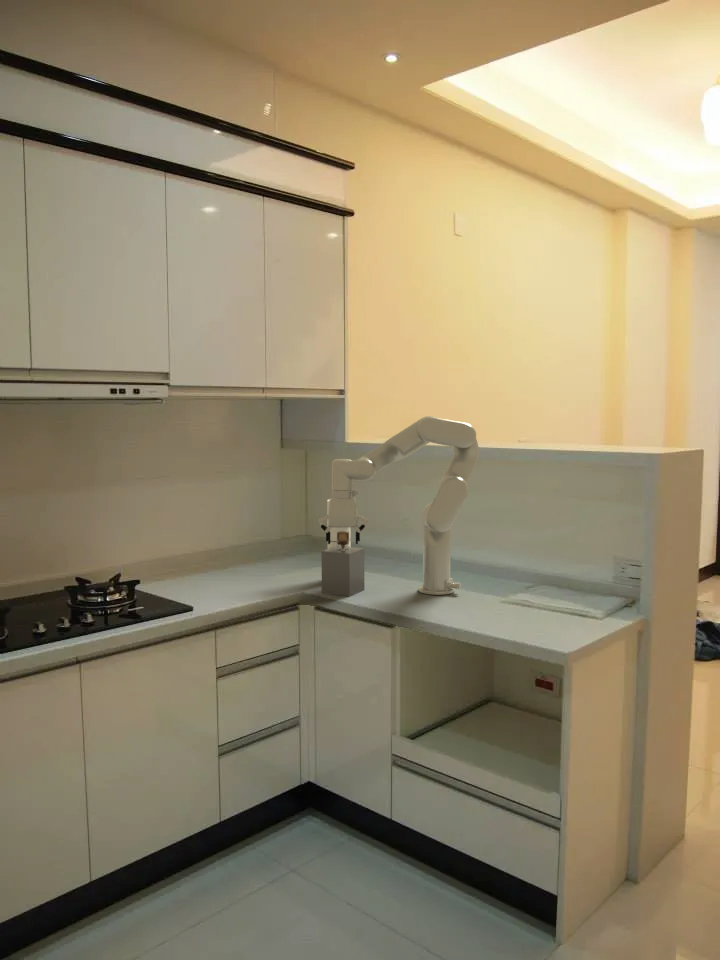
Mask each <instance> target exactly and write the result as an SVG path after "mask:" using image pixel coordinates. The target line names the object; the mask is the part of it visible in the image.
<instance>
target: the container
mask: <svg viewBox="0 0 720 960" xmlns="http://www.w3.org/2000/svg"><path fill="white" fill-rule="evenodd" d="M326 501H327V503H326V507H327V508H326V509H327V510H326V515H328V511H329V501H330V498H329V499H327V500H326ZM326 522H327V523H326V524H327V525H326V527H328V526H329V524H328V519H327V521H326ZM340 531H346V532H349V544H347V545H345V547H352V545H351V527H332V528H331V529H330V544H328V543H327V549H329V548H332V547H335V546H341V545H339V544H337V532H340Z"/></svg>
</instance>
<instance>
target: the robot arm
mask: <svg viewBox="0 0 720 960" xmlns="http://www.w3.org/2000/svg"><path fill="white" fill-rule="evenodd" d="M429 443H432V444H437V445H442V446H447V447H448V446H449V447H453V455H452V457H451V459H450V462H449V464H448V466H447V467H446V470H445V471H444V473H443V475H442V477H441V479H440V480H439V482H438V484H437V490H438V491H437V492H436V495H435V497H434V499H433V501H431V502H428V503H427V504H426V505H425V507H424V508H423V512H422V585H419V586H418V591H419V593H421V594H425V595H433V596H434V595H435V596H442V595H444V596H445V595H449V594H450V595H451V594H452V593H455V590H461V589H462V583H461V582H458V581H456V582H455V581H454V577H451V541H452V540H451V539H452V537H451V535H452V534H451V528H452V527H453V524H454V523H455V521H456V519H457V518H458V516H459V513H460V512H461V510H462V508H463V506H464V504H465V502H466V500H467V498H468V495H469V494H468V493H469V486H468V483H469V480H470V478H471V476H472V475H473V472H474V470H475V468H476V466H477V463H478V459H479V456H480V455H479V454H480V450H479V443H478V439H477V432H476V430H475V427H474V426H473V425H472V424H470V423H467V422H463V421H456V420H450V419H444V418H438V417H434V416H429V415H428V416H427V415H426V416H424V417H422V418H420V419H418V420H417V421H415V422H414V423H412V424H410V425H409V426H407V427H406V428H404V429H403V430H401V431H400V432H398V433H395V435H393V436H391V437H390V438H389V439H387V440H385V442H383V443H382V444H380V445H378V446H377V447H375V448H374V449H372V450H371V451H369V452H368V453H366V454H364V455H363V456H361V457H359V458H358V459H356V460H352V459H349V458H336V459H333V460H332V462H331V497H330V498H329V499H330V501H329V511H328V515H327V514H326V515H325V516H323V517H320V518H319V519H318V520H317V523H318V524H319V527H320V528H321V529H322V530H323V531H324V532H325V542H327V545H328V544H330V529H331V528H332V527H350V528H353V529H354V530H355V544H356V545H358V544H359V542H361V539H360V538H361V534H360V533H361V532H362V531H363V530H364V529H365V527H366V525H367V524H368V521H369V519H368V518H365V517H364V516H362V515H360V514H358V505H357V499H356V497H355V496H358V490H357V491H356V490H355V489H354V481H365V482H366V481H369V480H371V479H373V478H374V477H375V475H376V473H378V472H380V471H381V470H382V469H384V468H385V467H388V466H390V465H391V464H394V463H395V462H397V461H403V460H404V459H406V458H407V457H409V456H411V455H412V454H414V453H415V452H417V451H419V450H420V449H421V448H423V447H425V446H427V444H429ZM327 519H328V524H329V526H328V527H327V525H325V524H324V521H326V520H327ZM358 521H361V522H362V524H361V525H360V526H358Z"/></svg>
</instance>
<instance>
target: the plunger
mask: <svg viewBox="0 0 720 960" xmlns="http://www.w3.org/2000/svg"><path fill="white" fill-rule="evenodd" d="M337 544H339V545H341V551H345V545H347V544H349V532H346V531H340V532H337Z"/></svg>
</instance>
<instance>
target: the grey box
mask: <svg viewBox="0 0 720 960" xmlns="http://www.w3.org/2000/svg"><path fill="white" fill-rule="evenodd" d="M320 552H321V553H320V554H321V594H327V595H335V596H342V597H343V596H344V597H349V598H350V597H351V596H354V595H356V594H358V593H360V592H362V591H364V590H365V548H364V547H354V546H351V547H345V551H341V546H335V547H332V548H329V549H328V548H326V549H323V550H321V551H320Z"/></svg>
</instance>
